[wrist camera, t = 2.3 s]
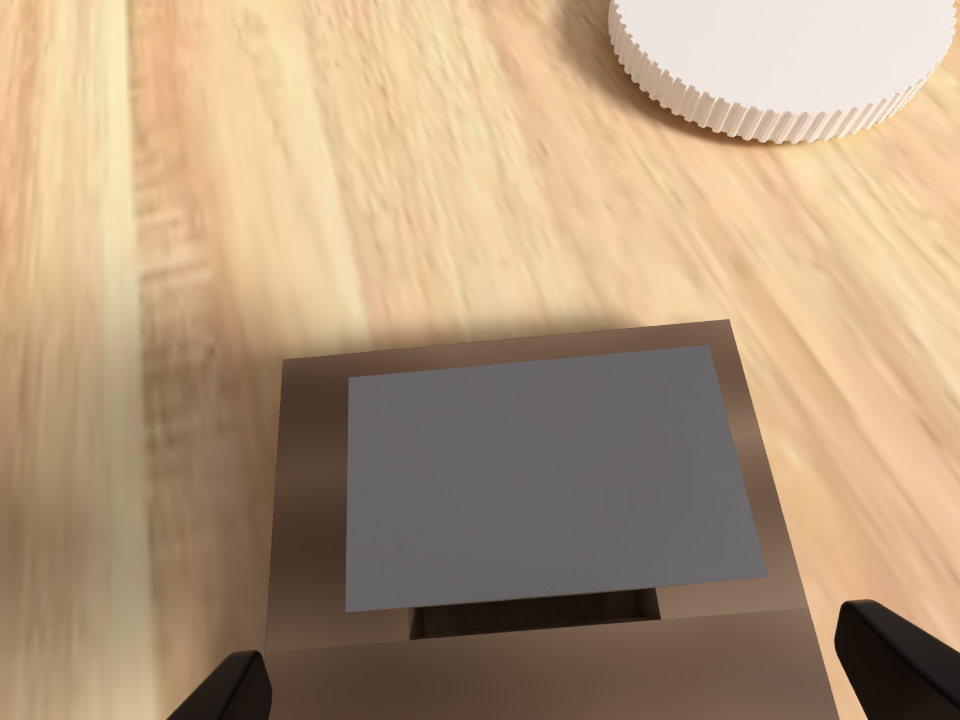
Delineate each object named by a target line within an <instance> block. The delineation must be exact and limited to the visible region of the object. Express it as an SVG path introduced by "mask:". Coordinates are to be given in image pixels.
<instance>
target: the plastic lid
mask: <svg viewBox="0 0 960 720" xmlns="http://www.w3.org/2000/svg"><path fill="white" fill-rule="evenodd" d="M954 3H955V0H610V5H609V12H608V17H609V18H608V26H609V31H608V32H609V35H610V36H611V41H610V42H611V45H615V46H614V53H615V55H619V59H618V61H619V63H620V64H624V65H625V68H624V71H625V72H626V74H631V75H632V77H631V80H632V81H633V82H634V83H639V84H640V88H639V89H640V90H641V91H642V92H645V91H647V92H648V93H649V94H650V95H649V98H651V99H652V100H658V101H659V102H660V106H661V107H663V108H667V107H668V108H670V109H671V110H672V112H671V113H672V114H674V115H676V116H677V115H679V114H680V115H682V116H684V117H685V118H684V120H686V121H688V122H691V121H695V122H697V123H698V126H699V127H701V128H705V127H710V128H712V131H713V132H716V133H719V132H720V131H722V132H726V133H727V136H730V137H735V135H738V136H742V139H743V140H750V139H751V138H754V139H758V142H763V143H765V142H766V141H767V140H773V141H774V143H775V144H781V143H782V142H783V141H789V142H790V144H797V143H798V142H799V141H805V142H806V143H813V142H814V140H815V139H820V140H821V141H828V140H829V139H830V137H833V136H834V137H836V138H837V139H838V138H843V136H844V135H845V134H846V133H849V134H851V135H853V134H856V133H857V132H858V131H859V130H860V128H862V129H864V130H867V129H869V128H870V127H871V126H872V125H873V123H875V124H879V123H881V122H882V121H883V120H884V119H885V117H888V118H889V117H891V116H892V115H893V114H894V113H895V112H896V111H897V110H900V109H902V108H903V106H904V105H905V104H906V103H907V102H909V101H910V100H911V99H912V97H913V96H914V95H915V94H916V93H917V91H918V90H919V89H920V88H921V86H922V85H923V84H924V83H925V81H926V80H927V79H928V78H929V76H930V75H931V74H932V73H933V71H934V70H935V69H936V67H937V66H938V65H939V64H940V62H941V61H942V60H943V57H944V56H945V55H946V53H947V52H948V50H949V49H948V47H949V46H950V44H951V43H952V41H953V39H952V38H951V37H952V36H953V34H954V33H955V30H956V29H955V28H953V26H954V25H955V24H956V21H957V19H956V18H954V17H953V16H954V15H955V13H956V8H954V7H952V5H953V4H954Z"/></svg>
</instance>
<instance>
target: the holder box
mask: <svg viewBox="0 0 960 720" xmlns="http://www.w3.org/2000/svg"><path fill="white" fill-rule="evenodd" d="M705 345H709V347H710V351H711V355H712V359H713V363H714V367H715V370H716V374H717V378H718V382H719V386H720V390H721V394H722V398H723V402H724V406H725V410H726V414H727V418H728V421H729V425H730V429H731V433H732V437H733V441H734V445H735V449H736V453H737V457H738V461H739V465H740V469H741V472H742V476H743V480H744V484H745V488H746V492H747V496H748V500H749V504H750V508H751V512H752V516H753V519H754V523H755V527H756V531H757V535H758V539H759V543H760V547H761V551H762V555H763V559H764V563H765V567H766V570H767V574H768V577H765V578H755V579H744V580H733V581H723V582H712V583H702V584H691V585H680V586H670V587H659V588H648V589H638V590H633V592H634V598H635V604H636V610H637V616H638V617H628V618H616V619H604V620H591V621H579V622H567V623H555V624H543V625H531V626H518V627H506V628H494V629H482V630H470V631H458V632H445V633H433V634H425V621H424V607H418V608H403V609H388V610H373V611H357V612H346V540H347V469H348V398H349V377H360V376H371V375H382V374H393V373H404V372H416V371H427V370H438V369H449V368H460V367H471V366H482V365H493V364H505V363H516V362H527V361H538V360H549V359H560V358H571V357H582V356H594V355H605V354H616V353H627V352H638V351H649V350H660V349H671V348H683V347H694V346H705ZM264 664H265V667H266V670H267V673H268V676H269V679H270V682H271V685H272V704H271V709H270V715H269V720H840V719H839V716H838V712H837V709H836V705H835V701H834V698H833V694H832V690H831V687H830V683H829V680H828V676H827V672H826V669H825V665H824V661H823V658H822V654H821V651H820V647H819V643H818V640H817V636H816V632H815V629H814V625H813V621H812V618H811V614H810V611H809V607H808V603H807V600H806V596H805V592H804V589H803V585H802V582H801V578H800V574H799V571H798V567H797V563H796V560H795V556H794V552H793V549H792V545H791V542H790V538H789V534H788V531H787V527H786V523H785V520H784V516H783V513H782V509H781V505H780V502H779V498H778V494H777V491H776V487H775V484H774V480H773V476H772V473H771V469H770V465H769V462H768V458H767V454H766V451H765V447H764V444H763V440H762V436H761V433H760V429H759V425H758V422H757V418H756V415H755V411H754V407H753V404H752V400H751V396H750V393H749V389H748V385H747V382H746V378H745V375H744V371H743V367H742V364H741V360H740V356H739V353H738V349H737V346H736V342H735V338H734V335H733V331H732V327H731V324H730V320H729V319H726V320H715V321H704V322H693V323H682V324H671V325H660V326H649V327H638V328H627V329H616V330H605V331H594V332H583V333H572V334H561V335H550V336H539V337H528V338H517V339H506V340H495V341H484V342H473V343H462V344H451V345H440V346H429V347H418V348H407V349H396V350H385V351H374V352H363V353H352V354H341V355H330V356H319V357H307V358H296V359H285V360H283V371H282V387H281V403H280V419H279V434H278V450H277V466H276V482H275V498H274V514H273V530H272V546H271V562H270V578H269V594H268V610H267V626H266V642H265V658H264Z"/></svg>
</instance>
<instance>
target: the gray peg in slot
mask: <svg viewBox="0 0 960 720" xmlns="http://www.w3.org/2000/svg"><path fill="white" fill-rule="evenodd" d="M765 577H768V574H767V570H766V567H765V563H764V559H763V555H762V551H761V547H760V543H759V539H758V535H757V531H756V527H755V523H754V519H753V516H752V512H751V508H750V504H749V500H748V496H747V492H746V488H745V484H744V480H743V476H742V472H741V469H740V465H739V461H738V457H737V453H736V449H735V445H734V441H733V437H732V433H731V429H730V425H729V421H728V418H727V414H726V410H725V406H724V402H723V398H722V394H721V390H720V386H719V382H718V378H717V374H716V370H715V367H714V363H713V359H712V355H711V351H710V347H709V345H705V346H694V347H683V348H671V349H660V350H649V351H638V352H627V353H616V354H605V355H594V356H582V357H571V358H560V359H549V360H538V361H527V362H516V363H505V364H493V365H482V366H471V367H460V368H449V369H438V370H427V371H416V372H404V373H393V374H382V375H371V376H360V377H349V398H348V469H347V540H346V612H357V611H373V610H388V609H403V608H418V607H434V606H449V605H461V604H473V603H485V602H497V601H509V600H521V599H533V598H545V597H557V596H569V595H581V594H594V593H606V592H617V591H627V590H638V589H648V588H659V587H670V586H680V585H691V584H702V583H712V582H723V581H733V580H744V579H755V578H765Z"/></svg>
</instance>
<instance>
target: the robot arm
mask: <svg viewBox="0 0 960 720" xmlns="http://www.w3.org/2000/svg"><path fill="white" fill-rule="evenodd" d="M834 644H835V650H836V653H837V656H838V658H839V660H840V662H841V664H842V666H843V669H844V671H845V673H846V675H847V677H848V679H849V681H850V683H851V685H852V687H853V689H854V691H855V694H856V696H857V698H858V700H859V702H860V704H861V706H862V708H863V710H864V712H865V714H866V716H867V718H868V720H960V652H958V651H956V650H955V649H953V648H951V647H950V646H948V645H947V644H945V643H943V642H942V641H940V640H938V639H937V638H935V637H934V636H932V635H930V634H929V633H927V632H925V631H924V630H922V629H921V628H919V627H917V626H916V625H914V624H912V623H911V622H909V621H908V620H906V619H904V618H903V617H901V616H899V615H898V614H896V613H895V612H893V611H891V610H890V609H888V608H886V607H885V606H883V605H882V604H880V603H878V602H876V601H874V600H870V599H863V600H851V601H846V602H844V603H843V604H842V605H841V608H840V613H839V618H838V623H837V628H836V633H835V639H834ZM271 704H272V685H271V682H270V679H269V676H268V673H267V670H266V667H265V664H264V661H263V658H262V655H261V653H260V652H258V651H256V650H250V651H238V652H233V653H231V654H230V655H229V656H227V657H226V658H225V659H224V660H223V661H222V662H221V663H220V665H219V666H218V667H217V668H216V669H215V670H214V671H213V672H212V673H211V674H210V675H209V676H208V677H207V678H206V679H205V680H204V681H203V682H202V683H201V684H200V685H199V686H198V687H197V688H196V689H195V690H194V691H193V692H192V693H191V695H190V696H189V697H188V698H187V699H186V700H185V701H184V702H183V703H182V704H181V705H180V706H179V707H178V708H177V709H176V710H175V711H174V712H173V713H172V714H171V715H170V716H169V717H168V718H167V719H166V720H269V715H270V709H271Z"/></svg>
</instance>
